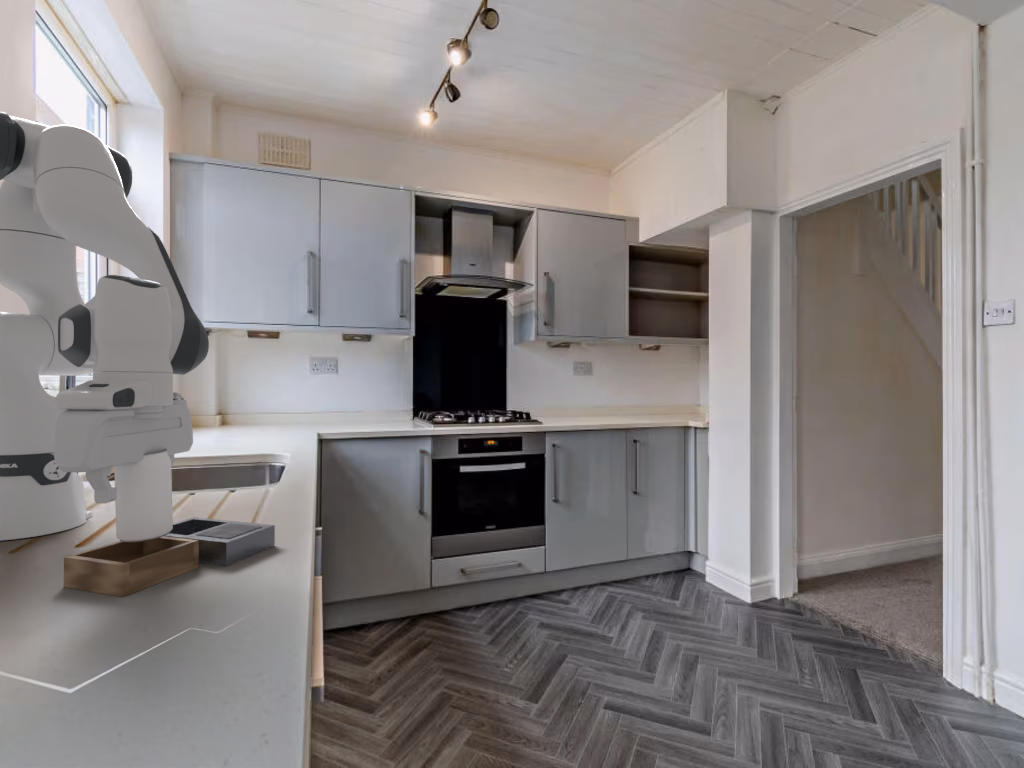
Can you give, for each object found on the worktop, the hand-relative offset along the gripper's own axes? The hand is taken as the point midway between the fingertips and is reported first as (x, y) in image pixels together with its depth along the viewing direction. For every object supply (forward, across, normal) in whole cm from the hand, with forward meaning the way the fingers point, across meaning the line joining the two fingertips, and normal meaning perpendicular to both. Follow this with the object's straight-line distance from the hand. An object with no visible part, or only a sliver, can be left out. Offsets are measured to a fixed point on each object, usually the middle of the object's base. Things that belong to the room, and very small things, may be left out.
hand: (134, 494), depth 69 cm
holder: (+11, 0, 0) cm, 11 cm away
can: (+6, -2, 0) cm, 7 cm away
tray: (+11, -11, +4) cm, 16 cm away
